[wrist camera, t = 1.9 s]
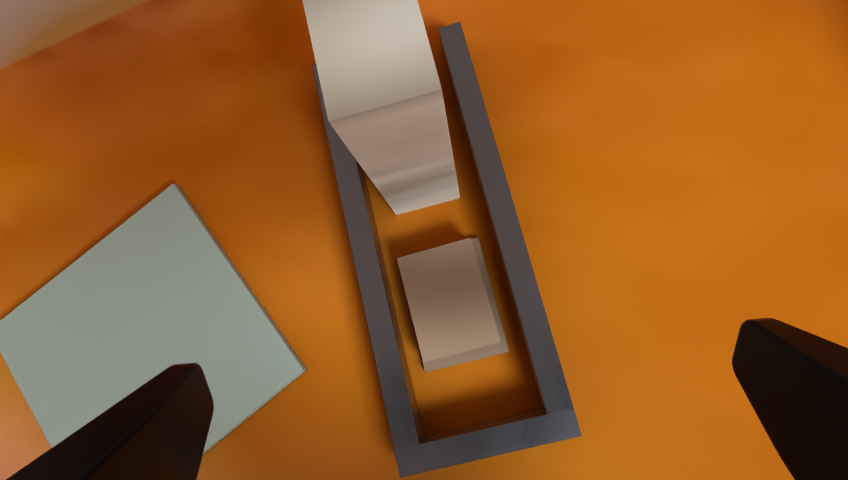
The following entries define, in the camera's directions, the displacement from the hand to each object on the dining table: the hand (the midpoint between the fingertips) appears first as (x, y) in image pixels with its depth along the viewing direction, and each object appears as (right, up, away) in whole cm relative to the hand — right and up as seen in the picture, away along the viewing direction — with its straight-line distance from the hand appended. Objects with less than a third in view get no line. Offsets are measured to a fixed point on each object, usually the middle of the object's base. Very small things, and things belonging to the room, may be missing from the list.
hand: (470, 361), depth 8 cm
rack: (0, +2, +14) cm, 14 cm away
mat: (-14, -3, +14) cm, 20 cm away
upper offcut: (0, -1, +13) cm, 13 cm away
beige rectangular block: (-1, +7, +15) cm, 16 cm away
